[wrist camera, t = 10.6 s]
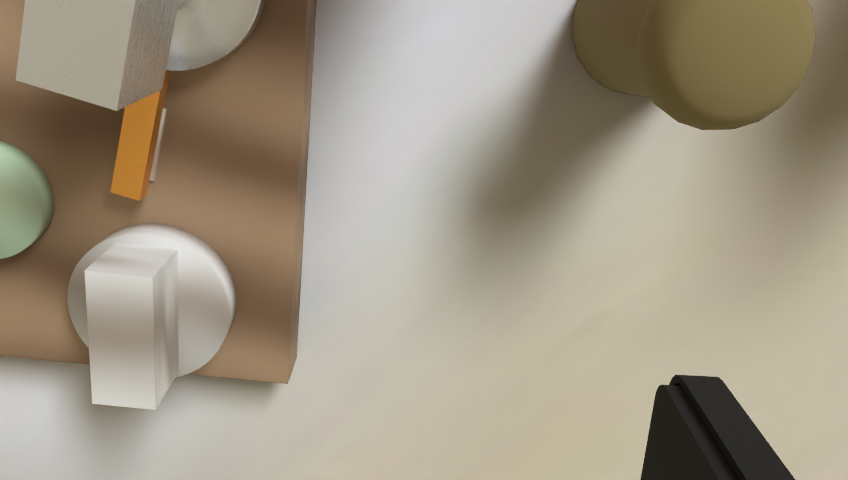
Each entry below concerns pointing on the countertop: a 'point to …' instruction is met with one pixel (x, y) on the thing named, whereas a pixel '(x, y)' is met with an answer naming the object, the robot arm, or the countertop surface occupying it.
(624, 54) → the cork
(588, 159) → the countertop surface
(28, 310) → the plate
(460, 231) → the countertop surface
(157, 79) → the knob
